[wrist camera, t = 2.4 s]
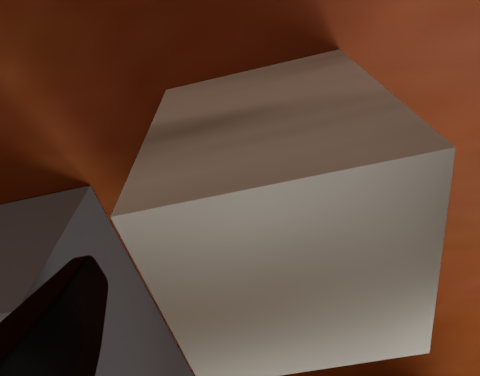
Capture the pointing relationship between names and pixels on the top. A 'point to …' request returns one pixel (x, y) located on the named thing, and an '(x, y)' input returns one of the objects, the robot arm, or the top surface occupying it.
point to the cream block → (289, 219)
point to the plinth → (110, 261)
